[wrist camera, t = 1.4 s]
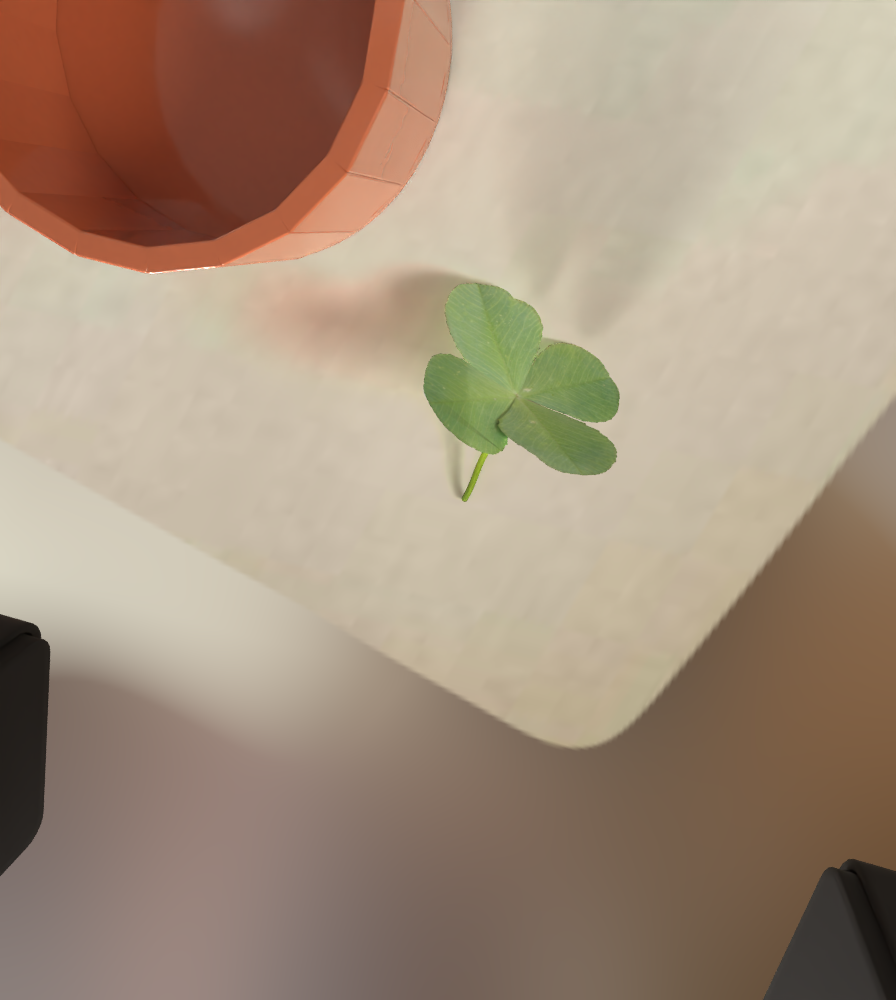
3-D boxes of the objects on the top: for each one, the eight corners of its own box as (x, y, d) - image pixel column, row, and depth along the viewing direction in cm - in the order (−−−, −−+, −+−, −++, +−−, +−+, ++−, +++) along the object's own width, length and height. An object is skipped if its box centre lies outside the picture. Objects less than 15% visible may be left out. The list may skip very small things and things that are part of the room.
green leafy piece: (502, 394, 33) (567, 272, 28) (589, 562, 30) (681, 458, 25) (337, 415, 30) (375, 282, 25) (412, 606, 27) (475, 498, 21)
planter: (45, 212, 29) (-115, 208, 22) (64, -252, 24) (-131, -428, 18) (405, 301, 28) (348, 324, 21) (497, -168, 23) (460, -323, 17)
